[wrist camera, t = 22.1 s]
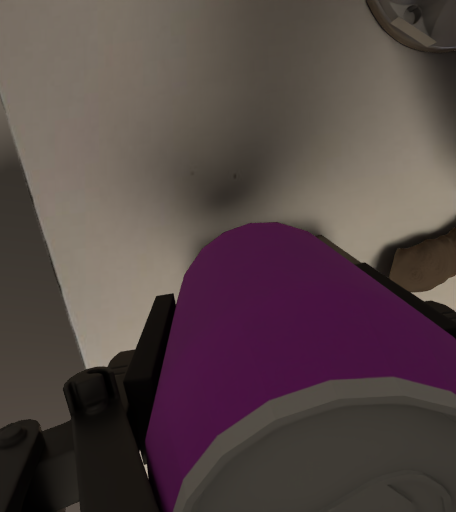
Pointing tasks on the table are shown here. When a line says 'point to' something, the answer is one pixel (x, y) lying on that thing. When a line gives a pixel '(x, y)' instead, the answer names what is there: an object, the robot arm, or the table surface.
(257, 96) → the table surface
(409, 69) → the table surface
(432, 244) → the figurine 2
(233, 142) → the table surface
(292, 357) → the beverage can
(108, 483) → the robot arm
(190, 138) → the table surface
